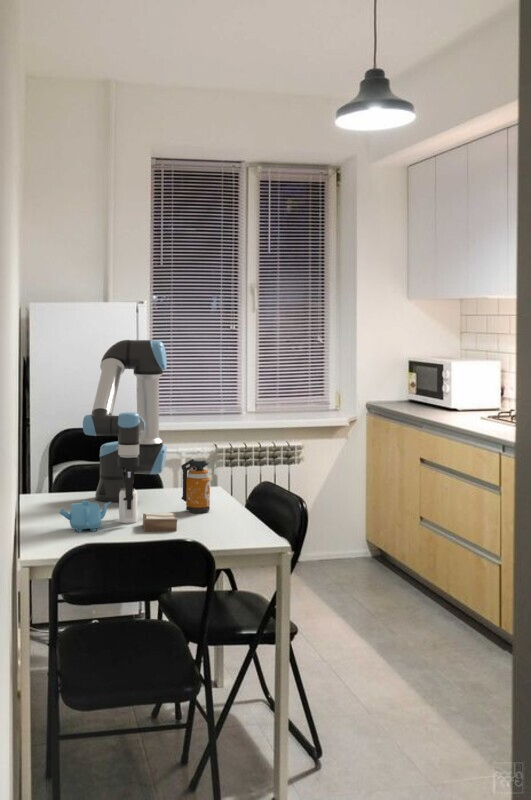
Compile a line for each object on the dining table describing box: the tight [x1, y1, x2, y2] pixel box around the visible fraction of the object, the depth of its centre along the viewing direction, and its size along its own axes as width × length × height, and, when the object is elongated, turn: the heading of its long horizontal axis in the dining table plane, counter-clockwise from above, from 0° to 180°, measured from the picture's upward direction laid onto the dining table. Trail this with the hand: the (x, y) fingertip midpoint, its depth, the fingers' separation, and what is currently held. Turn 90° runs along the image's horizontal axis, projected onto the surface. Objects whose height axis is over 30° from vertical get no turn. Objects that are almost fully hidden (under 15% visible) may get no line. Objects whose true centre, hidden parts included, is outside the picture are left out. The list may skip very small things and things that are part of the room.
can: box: [118, 487, 138, 525], centre depth 325 cm, size 6×6×12 cm
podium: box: [142, 512, 178, 533], centre depth 316 cm, size 11×11×4 cm
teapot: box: [58, 500, 113, 533], centre depth 312 cm, size 18×14×10 cm
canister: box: [180, 458, 211, 514], centre depth 345 cm, size 9×11×20 cm
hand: (128, 514), depth 325 cm, fingers open, 13 cm apart
